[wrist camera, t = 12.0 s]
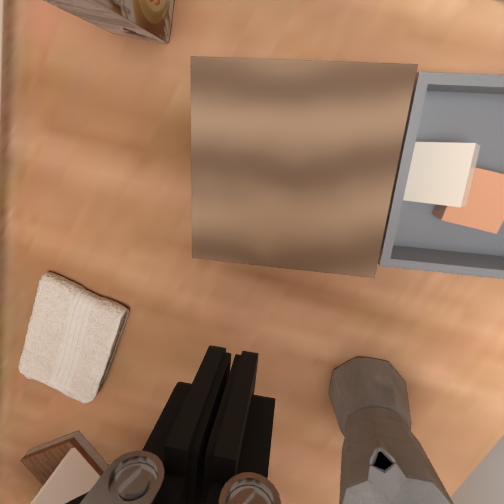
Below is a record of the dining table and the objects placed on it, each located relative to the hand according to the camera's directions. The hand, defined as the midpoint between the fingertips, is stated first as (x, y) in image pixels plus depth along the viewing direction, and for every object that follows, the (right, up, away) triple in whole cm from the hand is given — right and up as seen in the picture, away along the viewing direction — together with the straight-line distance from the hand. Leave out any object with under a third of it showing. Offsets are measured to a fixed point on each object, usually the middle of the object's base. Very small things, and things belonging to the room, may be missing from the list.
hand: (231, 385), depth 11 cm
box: (+21, +12, +21) cm, 31 cm away
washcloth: (-24, -7, +35) cm, 43 cm away
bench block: (+5, +13, +23) cm, 27 cm away
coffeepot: (+15, -13, +31) cm, 37 cm away
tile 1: (+21, +9, +18) cm, 29 cm away
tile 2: (+16, +11, +17) cm, 26 cm away
